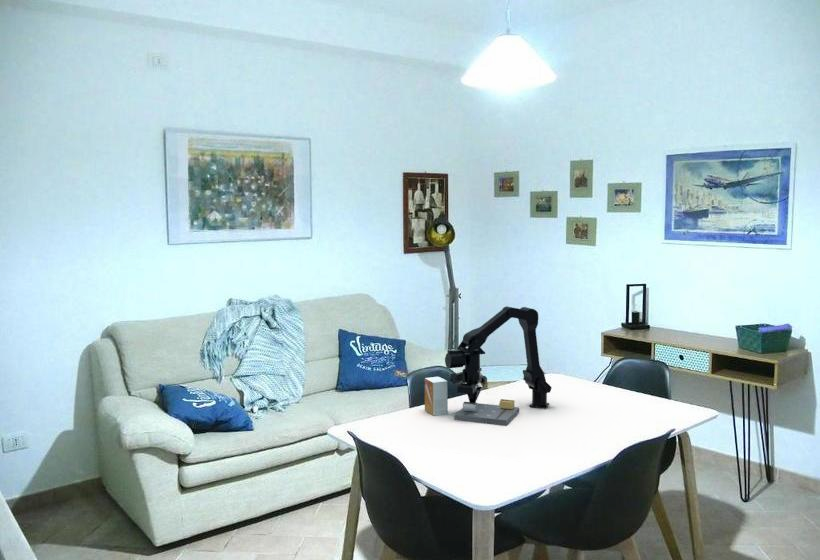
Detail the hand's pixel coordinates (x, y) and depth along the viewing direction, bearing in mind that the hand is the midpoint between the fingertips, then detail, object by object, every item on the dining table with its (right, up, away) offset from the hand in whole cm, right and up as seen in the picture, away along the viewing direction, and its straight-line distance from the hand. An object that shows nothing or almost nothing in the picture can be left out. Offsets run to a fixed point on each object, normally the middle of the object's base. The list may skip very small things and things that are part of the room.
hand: (472, 406), depth 277 cm
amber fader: (+13, -1, 0) cm, 13 cm away
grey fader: (-1, -1, -3) cm, 3 cm away
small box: (-14, -3, +3) cm, 15 cm away
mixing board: (+5, -3, -3) cm, 7 cm away
